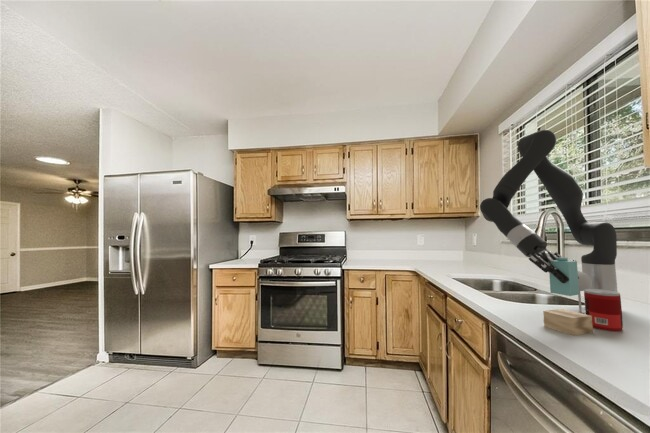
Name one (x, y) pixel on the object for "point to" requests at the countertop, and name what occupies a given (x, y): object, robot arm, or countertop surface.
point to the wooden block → (568, 321)
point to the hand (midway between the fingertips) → (571, 280)
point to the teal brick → (571, 272)
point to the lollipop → (583, 285)
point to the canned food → (604, 309)
